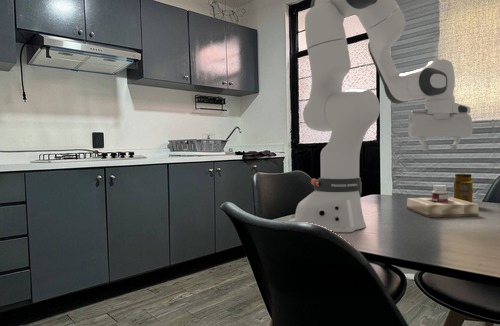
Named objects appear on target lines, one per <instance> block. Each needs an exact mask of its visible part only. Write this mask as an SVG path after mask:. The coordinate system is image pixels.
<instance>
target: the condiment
mask: <svg viewBox="0 0 500 326" xmlns="http://www.w3.org/2000/svg"><path fill="white" fill-rule="evenodd" d="M473 184H474V183H473V181H472V174H471V173H455V174H454V181H453V198H456V199H460V200H464V201H468V202H471V203H473V194H474V193H473V192H474V191H473V187H474V186H473Z"/></svg>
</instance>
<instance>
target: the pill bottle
mask: <svg viewBox="0 0 500 326" xmlns="http://www.w3.org/2000/svg"><path fill="white" fill-rule="evenodd" d="M432 188H433V189H432V191H431V198H432V202H434V203H448V197H449V192H448V191H447V185H446V184H433V186H432Z"/></svg>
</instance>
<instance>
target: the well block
mask: <svg viewBox="0 0 500 326" xmlns="http://www.w3.org/2000/svg"><path fill="white" fill-rule="evenodd" d="M479 207H480V205H479V203H475V202H472V203H471V202H468V201H464V200H460V199H456V198H454V197H452V196H451V197H450V196H448V203H434V202H432V197H407V198H406V209H407V210H410V211H412V212H415V213H416V214H419V215H422V216H424V217H427V218H439V217H441V218H444V217H445V218H447V217H448V218H449V217H479V214H480V213H479Z"/></svg>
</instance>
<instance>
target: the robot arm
mask: <svg viewBox="0 0 500 326" xmlns="http://www.w3.org/2000/svg"><path fill="white" fill-rule="evenodd" d="M352 15H354V16H356V17H357V18H358V20H359V21H360V24H361V25H362V27H363V29H364V30H365V32H366V34H367V37H368V43H367V44H368V45H367V49H368V52H369V55H370V57H371V60H372V63H373V65H374V67H375V69H376V71H377V73H378V75H379V77H380V80H381V81H382V85H383V88H384V89H383V90H384V93H385V95H386V97H387V99H388V100H389V101H390V102H392V103H393V104H395V105H396V104H397V105H401V104H403V103H404V104H405V103H407V102H411V101H417V100H422V99H425V100H424V109H420V110H419V109H418V110H417V109H413V110H412V111H410V112H409V113H408V116H407V117H408V127H407V136H408V137H410V138H418V142H419V143H420V145H421V151H429V148H430V146H429V145H428V144H426V142H425V141H426V139H427V138H432V137H433V138H435V137H437V138H438V137H439V138H440V137H444V138H445V137H453V140H454V141H453V143H452V144H450V145H449V147H450V148H449V149H450V151H457V150H458V145H459V144H460V142H461V140H462V137H470V136H471V135H472V134H473V131H474V130H473V127H474V125H473V120H472V119H473V118H472V116H471V115H470V113H471V107H470V106H467V105H464V104H460V103H459V102H458V103H457V102H455V101H456V100H455V95H454V91H455V90H454V89H455V87H456V81H455V80H456V79H455V78H456V77H455V70H454V66H453V63H452V61H449V60H447V59H434V60H431V61H429V62H427V64H426V65H425V66H424V67H421V68H417V69H415V70H413V71H412V70H411V71H408V72H400V71H399V70H398V69H397V67H396V65H395V61H394V59H393V57H392V55H391V47H393V45H394V44H395V43H396V42H397V41H398V40H399V39H400V37H402V35H403V33H404V31H405V28H406V18H405V15H404V13H403V10H402V9H401V8H400V6H399V4H398V2H397V1H396V0H311V2H310V9H308V11H307V12H306V13H305V17H304V33H305V41H306V42H305V43H306V49H307V55H308V61H309V66H310V73H311V74H310V75H311V87H310V94H309V98H308V101H307V102H306V104H305V106H304V107H303V111H302V117H303V122H304V123H305V125H306V126H307V127H308V129H311V130H313V131H317V132H322V133H323V132H324V133H325V132H331V135H330V138H329V140H328V142H327V143H326V145H325V146H324V147H323V148H322V149H321V151H320V155H319V156H320V177H318V178H317V179H316V178H311V180H310V184H311V185H312V186H313V189H314V190H313V191H312V192H311V193H310V194H308V195H307V196H306V197H304V198H303V199H302V200H301V201H299V202H298V204H297V206H296V209H295V217H293V218H290V219H289V220H288V221H298V222H308V223H313V224H317V225H320V226H323V227H326V228H327V229H329V230H332V231H333V232H332V233H353V232H354V231H357V230H360V229H363V228H366V227H367V225H366V221H365V218H364V214H363V213H364V212H363V209H362V201H361V197H362V178H361V177H360V155H361V154H360V153H361V148H362V143H363V141H364V139H365V135H366V134H367V132H368V130H369V129H370V128H371V127H372V125H374V123H376V121H377V120H378V118H379V116H380V113H381V104H380V101H379V98H378V97H377V95H376V93H375V92H373V91H371V90H367V89H350V90H345V91H343V89H342V88H343V83H344V79H345V78H346V76H347V75H348V73H350V69H351V64H352V63H351V58H350V52H349V46H348V41H347V34H346V31H345V27H344V21H345V18H349V17H351V16H352Z"/></svg>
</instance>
